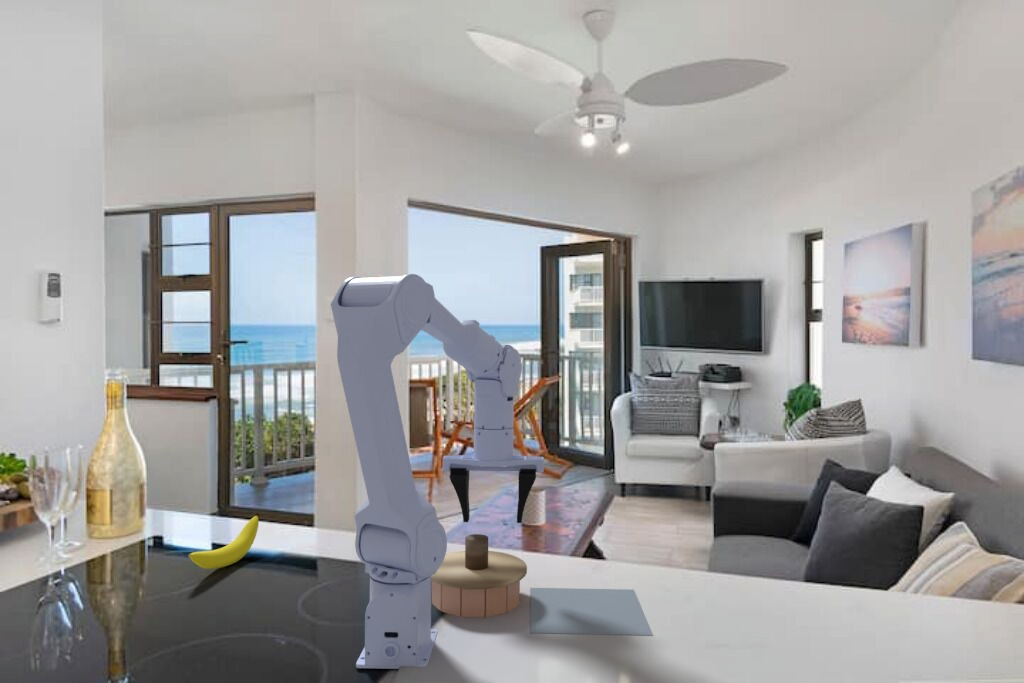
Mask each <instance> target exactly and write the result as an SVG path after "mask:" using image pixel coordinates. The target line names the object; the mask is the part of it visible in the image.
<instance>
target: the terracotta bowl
mask: <svg viewBox="0 0 1024 683" xmlns="http://www.w3.org/2000/svg"><path fill="white" fill-rule="evenodd" d="M520 581H521V580H520ZM520 581H518V582H516V583H513V584H510V585H507V586H503V587H498V588H491V589H459V588H453V587H448V586H444V585H441V584H438V583H436V582H434V581H432V580H431V605H434V607H436V609H437V610H439V611H440V612H442V613H444V614H449V615H453V616H457V617H461V618H485V617H486V618H489V617H494V616H498V615H502V614H507V613H509V612H510V611H512V610H514V609H515V608H516V607H518V606H520V592H521V588H520V587H521V583H520Z"/></svg>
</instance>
